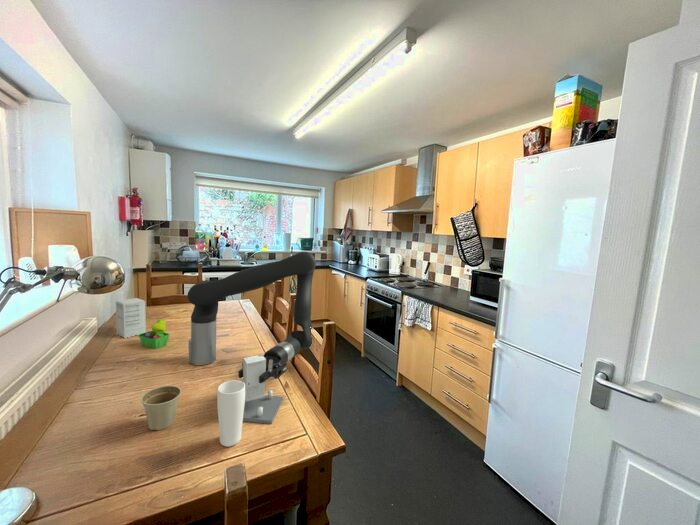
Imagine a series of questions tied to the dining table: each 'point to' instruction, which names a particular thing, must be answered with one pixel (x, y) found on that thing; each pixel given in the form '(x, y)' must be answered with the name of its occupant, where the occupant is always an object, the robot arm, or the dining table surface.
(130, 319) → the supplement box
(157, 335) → the fruit basket
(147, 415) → the flower pot
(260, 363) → the skincare box
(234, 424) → the drinking glass
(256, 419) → the pin tray
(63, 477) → the dining table surface
